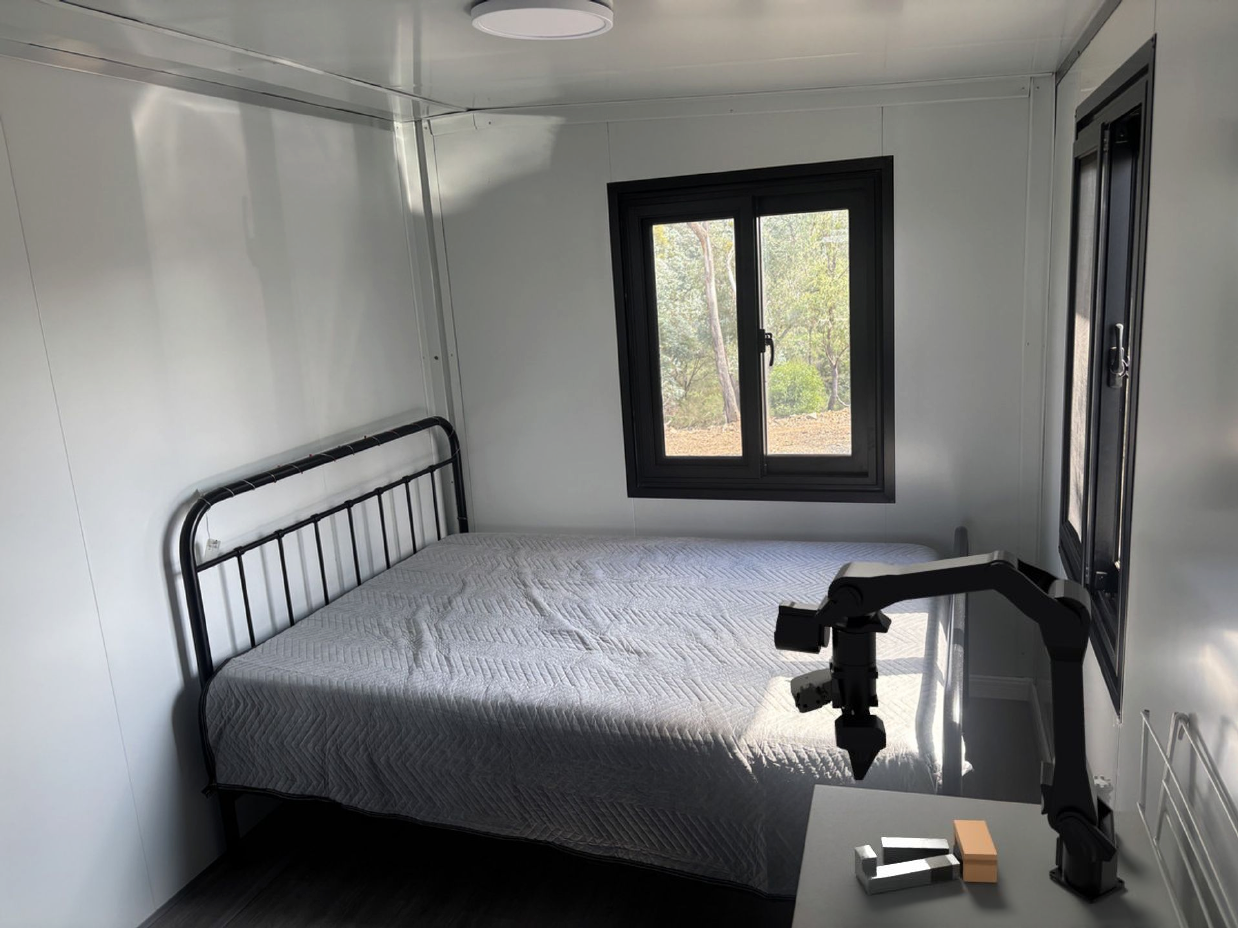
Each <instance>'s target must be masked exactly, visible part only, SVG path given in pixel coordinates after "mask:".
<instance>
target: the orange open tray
mask: <svg viewBox="0 0 1238 928" xmlns="http://www.w3.org/2000/svg"><path fill="white" fill-rule="evenodd" d="M989 831H990V830H989V828H988V826H987V823H986V820H974V819H973V820H969V819H966V820H965V819H953V845H952V847H953V846H954V844H955V843H957V842H958V846H959V849H960V852H961V855H962V858H963V874H962V878H963V882H972V883H973V882H974V883H997V882H998V879H997V878H998V876H997V875H998V853H997V850H996V847H995V844H994V842H993V839H992V837H991V834H990V832H989Z"/></svg>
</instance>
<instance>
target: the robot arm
mask: <svg viewBox="0 0 1238 928" xmlns="http://www.w3.org/2000/svg"><path fill="white" fill-rule="evenodd" d="M985 591H987V592H988V591H995V592H997V593H999V594H1000V595H1002V596H1004V597H1005V598H1006V599H1007V600H1008V601H1010V603H1012V605H1013V606H1015V607H1016V608H1017V610H1019V611H1020V612H1021V613H1022V614H1024V615H1025V617H1028V618H1029V619H1031V620H1033V621H1034V622H1035V623H1037V624H1038V626H1039V631H1040V635H1041V638H1042V641H1043V646H1044V649H1045V651H1046V654H1047V657H1048V659H1049V660H1048V661H1049V664H1050V665H1049V666H1050V682H1051V703H1052V704H1051V705H1052V725H1053V749H1054V754H1053V755H1054V756H1053V759H1052V762H1049V761H1046V760H1041V761H1040V762H1041V763H1040V764H1041V765H1040V766H1041V767H1040V780H1039V781H1040V784H1039V786H1040V790H1041V804H1040V806H1041V808H1040V809H1041V811H1040V815H1042V816H1045V815H1047V817H1046V818H1047V823H1048V825H1049V827H1050V829H1052V830H1053V831H1055V832H1056V833H1057V834H1058V836H1057V837H1056V838H1055V839H1056V840H1055V842H1056V843H1055V866H1057V867H1054V868H1053V869H1051V870H1049V871H1048V876H1049V877H1050V878H1052V879H1053V880H1055V881H1056V882H1058V883H1059V884H1060V885H1062V886H1063V887H1065V888H1067V889H1068V890H1069V891H1071V892H1073V894H1076V895H1077V896H1078V897H1080V898H1082V899H1083V900H1085V901H1086V902H1088V903H1091V904H1093V903H1096V902H1098V901H1100V900H1101V899H1104V898H1106V897H1108V896H1109V895H1111V894H1113V893H1115V892H1116V891H1119V890H1121V889H1123V888H1124V887H1125V885H1126V882H1125V881H1124V880H1123V879H1121V878H1120V877H1118V870H1119V869H1118V867H1119V864H1118V863H1119V850H1120V849H1119V845H1117V839H1116V833H1115V830H1116V827H1115V825H1116V823H1115V824H1114V822H1115V812H1114V809H1112V807H1111V806H1110V805H1109V806H1108V805H1107V804H1106V803H1105V802H1104V801H1103V800H1102V799H1101V798H1100V797H1099V796H1098V795H1097V792H1096V787H1095V783H1094V779H1093V775H1094V774H1093V771H1092V768H1091V765H1090V762H1089V760H1088V757H1087V749H1086V748H1087V747H1086V746H1087V745H1086V723H1085V722H1086V721H1085V720H1086V719H1085V694H1084V693H1085V691H1084V688H1085V687H1084V668H1083V667H1084V661H1085V657H1086V654H1087V649H1088V646H1089V645H1088V644H1089V640H1090V635H1091V629H1092V628H1091V627H1092V610H1091V609H1092V607H1091V606H1092V605H1091V604H1092V603H1091V598H1090V594H1089V591H1088V590H1087V589H1086V588H1085V587H1084V586H1083V585H1081V584H1080V583H1079V582H1076V581H1074V580H1071V579H1066V578H1065V579H1064V578H1063V579H1062V578H1060V577H1059V576H1057V575H1055V574H1054V573H1052V572H1050V571H1049V570H1047V569H1045V568H1042V567H1040V566H1038V565H1035V564H1033V563H1030V562H1028V561H1026V560H1023V559H1021V558H1020V557H1018V556H1017V555H1015V554H1013V553H1012V552H1010V551H1009V550H1008V551H1007V550H1005V549H1004V550H1002V549H1001V550H999V549H997V550H994V551H992V552H990V553H982V554H976V555H969V556H961V557H955V558H948V559H940V560H933V561H926V562H919V563H910V564H903V565H897V564H894V565H893V564H892V565H891V564H887V563H884V562H880V561H857V560H856V561H849V562H847V563H845V564H844V565H842V566H841V567H840V569H839V570H838V571H837V573H836V575H835V576H834V578H833V579H832V581H831V583H830V584H829V586H828V588H827V595H824V596H823V598H822V600H821V602H820V603H819V604H812V603H811V604H810V603H804V602H803V603H802V602H796V601H793V600H786V599H783V600H782V601H780V603H779V605H778V613H777V617H776V622H775V630H774V631H773V642H774V647H775V649H776V650H778V651H779V650H781V651H786V652H787V651H789V652H795V653H796V652H797V653H798V652H799V653H804V654H811V655H812V654H813V655H819V654H820V653H821V649H822V648H825V649H826V648H828V646H829V644H830V640H831V641H832V642H831V646H832V647H831V649H832V650H831V652H832V655H831V657H830V658H829V660H828V664H829V665H828V667H826V668H822V669H815V670H813V671H809V672H807V673H804V674H800V675H798V676H795V677H793V678H792V679H791V680H790V681H789V683H790V693H791V694H790V695H791V696H792V698H793V700H794V705H795V708H797V709H798V712H799V713H800V714H806V713H810V712H813V711H816V710H820V709H821V708H822V709H823V707H824V706H826V705H829V704H830V703H831V707H832V710H833V709H836V710H837V709H840V712H841V714H840V715H839V716H838V717H837V718H835V720H834V722H833V723H834V738H835V746H836V748H839V749H841V750H844V751H846V752H847V755H848V758H849V762H850V766H851V767H850V768H851V771H852V775H853V779H854V780H855V781H864V780H865V777H866V775H867V774H868V772H869V770H870V768H871V766H872V764H873V763H874V762H875V759H876V757H877V756H878V755H879V753H880V752H881V751H882V750H884V749H886V748H887V732H886V728H885V723H884V720H882V718H880V716H878V715H877V714H871V711H870V709H871V708H879V698H878V697H879V696H878V693H877V679H879V670H878V667H877V633H878V634H888V632H889V630H890V628H891V624H892V622H893V621H892V619H891V618H890V617H889V616H888V615H886V614H884V613H883V612H882V610H884V609H885V608H888V607H890V606H892V605H894V604H897V603H901V602H904V601H911V600H912V601H913V600H920V599H928V598H929V599H930V598H937V597H945V596H952V595H960V594H970V593H978V592H985ZM830 638H831V639H830Z"/></svg>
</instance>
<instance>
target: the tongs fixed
mask: <svg viewBox="0 0 1238 928" xmlns="http://www.w3.org/2000/svg"><path fill="white" fill-rule="evenodd" d="M953 844H954V843H953ZM949 854H950V847H949V844H948V840H947V839H946V838H922V837H921V838H916V837H915V838H913V837H881V858H882V862H883V863H893V864H898V863H904V862H909V861H915V860H921V859H925V858H931V857H936V856H942V855H949ZM952 854H953V856H954V857H955V858H956V859H957V860H958V862H959V863H960V874H962V875H963V858H962V855H961V852H960V849H959V846H958V842H957V843H955V844H954V846H953V845H952Z"/></svg>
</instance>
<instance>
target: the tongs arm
mask: <svg viewBox="0 0 1238 928" xmlns="http://www.w3.org/2000/svg"><path fill="white" fill-rule="evenodd" d="M877 857H878V856H877V855H876V853H875V851H874V850H873V849H872V848H871V846H870V845H868V844H867V845H863V846H858V847H854V874H855V875H856V877H857V878H858V881H860V883H861V885H862V887H863V888H864V889H865V891H866V892H867V894H868V895H873V894H878V893H880V894H881V893H885V892H890V891H897V890H903V889H907V888H912V887H919V886H924V885H928V884H936V883H941V882H946V881H952V880H957V879H960V877H961V873H960V863H959V862H958V860H957V859H956V858H955V857H954V856H953V853H951V854H950V853H949V855H942V856H936V857H931V858H925V859H921V860H915V861H909V862H904V863H893V864H887V865H882V866H878V863H877V862H878V860H877Z"/></svg>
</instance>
